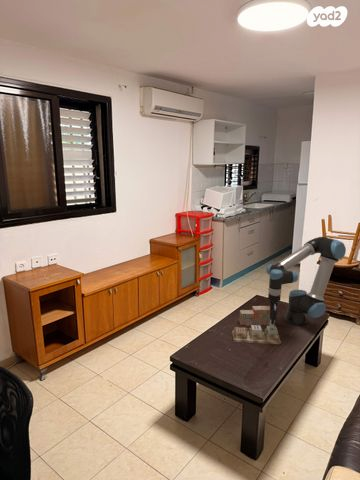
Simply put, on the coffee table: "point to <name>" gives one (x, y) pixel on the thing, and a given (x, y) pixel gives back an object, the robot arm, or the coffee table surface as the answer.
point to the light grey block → (271, 330)
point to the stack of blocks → (255, 316)
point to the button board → (255, 337)
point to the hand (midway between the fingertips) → (271, 327)
